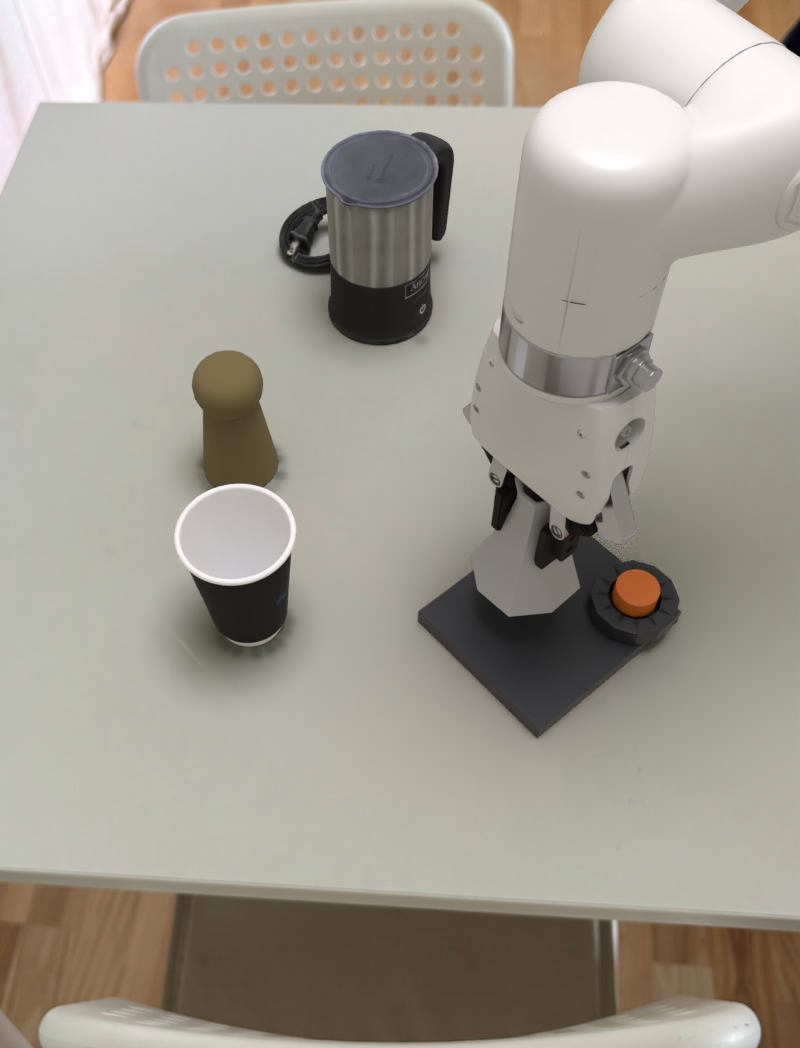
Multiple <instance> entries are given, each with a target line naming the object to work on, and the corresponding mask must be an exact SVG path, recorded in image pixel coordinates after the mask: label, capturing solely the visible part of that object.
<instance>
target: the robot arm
mask: <svg viewBox="0 0 800 1048" xmlns="http://www.w3.org/2000/svg"><path fill="white" fill-rule="evenodd" d="M749 1H750V0H612V1H611V3H610V4H609V6H608V7H607V9H606V10H605V12H604V14H603V15H602V16H601V18H600V20H599V21H598V23H597V24H596V26H595V28H594V30H593V31H592V34H591V36H590V38H589V39H588V42H587V44H586V46H585V48H584V52H583V54H582V55H583V56H582V57H581V60H580V64H579V68H578V69H579V70H578V77H577V78H578V79H577V86H573V87H570V88H567V89H566V90H564V91H561V92H559V93H557V94H556V95H554V96H553V97H552V98H550V99H549V100H547V102H546V103H545V104H543V105H542V106H541V107H540V109H538V111H536V113H535V115H534V116H533V118H532V120H531V121H530V124H529V125H528V128H527V130H526V133H525V135H524V139H523V143H522V144H523V145H522V150H521V154H520V163H519V171H518V178H517V179H518V180H517V187H516V194H515V203H514V211H513V219H512V225H511V232H510V233H511V234H510V240H509V241H510V242H509V250H508V258H507V266H506V275H505V282H504V292H503V298H502V299H503V300H502V308H501V314H500V315H499V316H498V317H497V319H496V321H495V322H494V324H493V327H492V328H491V331H490V333H489V335H488V337H487V340H486V341H485V344H484V347H483V349H482V351H481V352H482V353H481V355H480V359H479V362H478V367H477V371H476V373H475V377H474V383H473V388H472V394H471V402H469V403H468V404H467V405H465V407H463V409H462V414H463V416H464V418H465V420H466V421H467V423H468V424H469V425H470V429H471V433H472V435H473V437H474V439H475V440H476V441H477V443H478V444H479V445H480V447H481V449H482V450H483V452H484V454H485V456H486V458H487V460H488V462H489V464H490V467H489V470H488V479H489V481H490V482H491V483H492V485H494V487H495V491H494V498H493V499H494V500H493V508H492V513H491V514H492V515H491V522H490V526H491V527H492V528H493V529H494V530H495V529H496V530H497V531H498V530H500V531H501V528H502V526H503V524H504V522H505V520H506V518H507V516H508V514H509V512H510V510H511V508H512V506H513V504H514V502H515V500H516V498H517V493H518V492H517V487H516V483H515V477H518V478H519V479H520V480H521V481H522V482H523V483H525V484H526V485H527V486H528V487H529V488H531V489H532V490H533V491H534V492H535V493H537V494H538V495H539V496H540V497H541V498H543V499H544V500H545V501H546V502H547V503H549V504H550V505H551V507H550V522H549V523H547V524H546V525H545V526H543V527H542V529H541V530H540V533H539V538H538V543H537V548H536V552H535V557H534V561H535V565H536V566H537V567H538V568H540V569H541V570H542V569H544V568H545V567H546V566H548V565H549V564H550V563H552V562H553V561H554V560H556V559H557V560H559V561H560V562H562V561H564V560H565V559H567V558H568V557H569V556H570V555H571V554H572V553H573V552H574V551H575V550H576V548H577V546H578V542H579V538H580V536H585V537H591V536H592V537H593V536H594V535H596V536H598V538H599V539H601V540H604V541H607V542H610V543H612V544H615V545H619V546H621V545H623V544H624V543H626V542H627V541H628V540H629V539H631V538H632V537H634V535H636V534H637V533H638V527H637V523H636V519H635V515H634V512H633V508H632V504H631V500H630V496H631V495H632V494H633V493H634V492H635V491H637V490H638V489H639V487H640V486H641V483H642V481H643V478H644V475H645V470H646V467H647V463H648V459H649V455H650V449H651V445H652V438H653V434H654V427H655V421H656V420H655V418H656V408H657V407H656V406H657V384H658V383H659V381H660V379H661V378H662V375H663V369H661V368H660V367H658V366H657V365H656V364H654V360H653V359H652V358H651V355H650V349H651V346H652V342H653V338H654V335H655V334H654V332H653V330H654V326H655V323H656V322H655V321H656V319H657V315H658V312H659V308H660V305H661V302H662V298H663V295H664V291H665V288H666V284H667V280H668V277H669V273H670V271H671V267H672V265H674V263H675V262H677V261H678V260H680V259H685V258H689V257H694V256H698V255H704V254H709V253H710V254H711V253H715V252H716V253H717V252H721V251H725V250H732V249H733V250H734V249H739V248H743V247H749V246H755V245H759V244H763V243H768V242H770V241H775V240H778V239H781V238H784V237H787V236H789V235H791V234H794V233H796V232H798V231H800V56H798V55H797V54H796V53H794V52H793V51H791V50H790V49H789V48H787V46H786V45H785V44H783V43H782V42H780V41H779V40H777V39H775V37H773V36H771V35H770V34H768V33H766V32H765V31H763V30H762V29H760V27H757V26H756V25H754V24H753V23H751V22H750V21H749V20H747V19H745V18H744V17H742V16H741V15H739V14H738V12H739V11H740V10H741V9H742V8H743V7H744V6H745V5H746V4H747V3H748V2H749Z"/></svg>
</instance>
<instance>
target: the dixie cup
mask: <svg viewBox="0 0 800 1048" xmlns="http://www.w3.org/2000/svg"><path fill="white" fill-rule="evenodd" d="M174 528H175V529H174V531H173V532H174V534H173V545H174V549H175V553H176V555H177V557H178V559H179V561H180V562H181V564H182V565H183V566H184V567H185V569H186V570H188V571H189V573H190V575H191V578H192V580H193V582H194V584H195V586H196V588H197V590H198V592H199V594H200V596H201V598H202V600H203V603H204V605H205V607H206V609H207V611H208V613H209V616H210V618H211V620H212V622H213V624H214V626H215V627H216V629H217V630H218V632H219V633H220V634H221V635H222V636H224V637H225V638H226V639H227V640H228V641H230V642H231V643H233V644H235V645H238V646H242V647H256V646H260V645H263V644H266V643H267V642H269V641H271V640H272V639H274V638H275V637H276V636H277V635H278V633H280V631H281V629H282V627H283V625H284V623H285V621H286V619H287V616H288V608H289V607H288V606H289V593H290V592H289V591H290V577H291V564H292V563H291V561H292V552H293V549H294V547H295V544H296V541H297V523H296V518H295V516H294V514H293V512H292V510H291V507H290V506H288V504H287V502H286V501H285V500H283V499H282V498H281V497H280V496H279V495H278V494H276V493H275V492H273V491H271V490H270V489H267V488H265V487H259V486H255V485H250V484H229V485H224V486H219V487H213V488H211V489H207V490H206V491H205V492H202V493H201V494H200V495H198V496H196V497H195V498H193V499H192V501H190V502H189V503H188V504H187V505H186V507H184V509H183V510H182V512H181V514H180V515H179V517H178V518H177V521H176V524H175V527H174Z"/></svg>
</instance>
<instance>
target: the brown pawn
mask: <svg viewBox="0 0 800 1048" xmlns="http://www.w3.org/2000/svg"><path fill="white" fill-rule="evenodd" d="M191 379H192V381H191V389H192V393H193V397H194V400H195V402H196V403H197V405H198V406H199V407H200V409H201V410H202V462H203V464H202V465H203V466H202V467H203V472H204V477H205V478H206V479H207V480H208V482H209V483H210V485H211V486H213V487H214V488H216V487H219V486H224V485H229V484H250V485H255V486H259V487H262V488H264V487H265V486H267V485H268V484H269V483H270V481H272V480H273V479H274V477H275V475H276V473H277V472H278V469H279V456H278V452H277V450H276V447H275V444H274V441H273V438H272V435H271V431H270V429H269V426H268V423H267V420H266V417H265V415H264V411H263V409H262V406H261V402H260V400H261V398H262V395H263V391H264V377H263V374H262V371H261V369H260V367H259V365H258V364H257V362H256V361H255V360H254V359H253V358H251V357H250V356H248V355H247V354H245V353H243V352H241V351H238V350H232V349H231V350H230V349H229V350H228V349H226V350H225V349H224V350H219V351H215V352H213V353H211V354H208V355H206V356H205V357H204V358H203V359H202V360H201V361H200V362H199V363H198V364H197V366H196V367H195V369H194V371H193V373H192V378H191Z"/></svg>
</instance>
